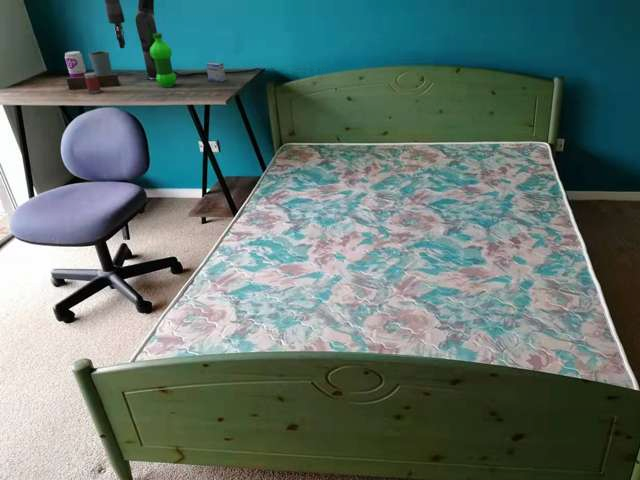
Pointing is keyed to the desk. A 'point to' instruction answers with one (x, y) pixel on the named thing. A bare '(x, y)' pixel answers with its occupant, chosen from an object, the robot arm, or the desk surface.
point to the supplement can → (75, 64)
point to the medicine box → (215, 72)
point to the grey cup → (101, 62)
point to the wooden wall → (102, 79)
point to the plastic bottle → (162, 61)
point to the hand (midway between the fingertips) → (122, 46)
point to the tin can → (92, 83)
